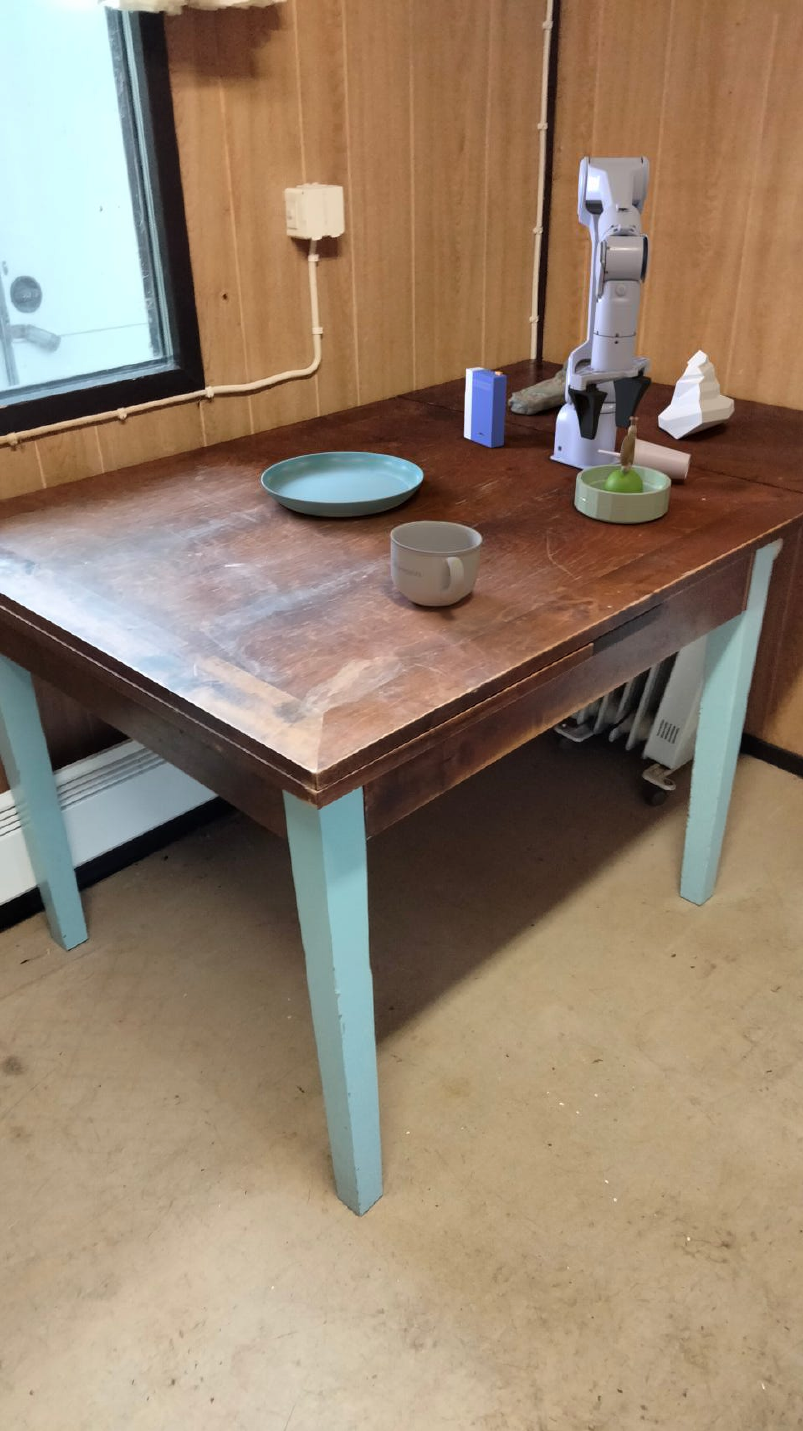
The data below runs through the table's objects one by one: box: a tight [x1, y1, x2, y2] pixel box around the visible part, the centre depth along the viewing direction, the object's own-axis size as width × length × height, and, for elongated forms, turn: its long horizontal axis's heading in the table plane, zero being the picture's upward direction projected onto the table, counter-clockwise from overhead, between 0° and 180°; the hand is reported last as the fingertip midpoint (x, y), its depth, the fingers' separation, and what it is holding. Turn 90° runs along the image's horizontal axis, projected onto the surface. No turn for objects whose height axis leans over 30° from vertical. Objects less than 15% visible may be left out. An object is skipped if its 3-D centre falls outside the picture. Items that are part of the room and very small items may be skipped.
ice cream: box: [657, 349, 735, 440], centre depth 180 cm, size 12×15×14 cm
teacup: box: [389, 520, 483, 607], centre depth 122 cm, size 14×11×8 cm
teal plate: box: [260, 451, 424, 518], centre depth 155 cm, size 24×24×3 cm
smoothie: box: [598, 438, 692, 480], centre depth 160 cm, size 6×6×14 cm
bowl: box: [573, 464, 672, 524], centre depth 149 cm, size 13×13×4 cm
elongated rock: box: [507, 359, 591, 416], centre depth 203 cm, size 35×5×10 cm
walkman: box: [463, 366, 508, 449], centre depth 175 cm, size 8×3×12 cm, turn 33°
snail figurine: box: [605, 416, 643, 493], centre depth 147 cm, size 5×6×12 cm
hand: (605, 432), depth 147 cm, fingers open, 7 cm apart
